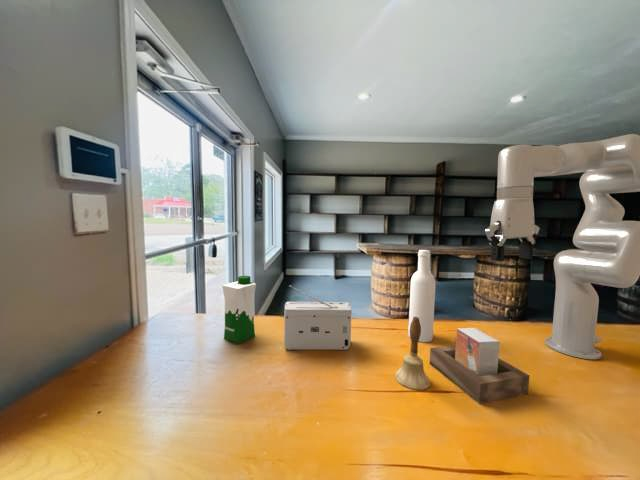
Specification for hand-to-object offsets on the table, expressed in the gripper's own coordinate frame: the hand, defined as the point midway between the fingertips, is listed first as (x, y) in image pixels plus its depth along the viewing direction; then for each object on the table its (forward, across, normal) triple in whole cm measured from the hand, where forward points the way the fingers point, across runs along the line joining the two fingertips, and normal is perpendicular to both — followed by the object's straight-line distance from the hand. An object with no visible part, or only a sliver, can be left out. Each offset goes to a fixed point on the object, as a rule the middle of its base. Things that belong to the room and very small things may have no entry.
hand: (511, 259), depth 68 cm
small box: (+28, +14, +2) cm, 32 cm away
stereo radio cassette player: (+28, +49, -23) cm, 61 cm away
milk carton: (+27, +73, -34) cm, 85 cm away
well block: (+29, +14, +2) cm, 32 cm away
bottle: (+29, +13, -20) cm, 38 cm away
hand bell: (+29, +30, -1) cm, 41 cm away
